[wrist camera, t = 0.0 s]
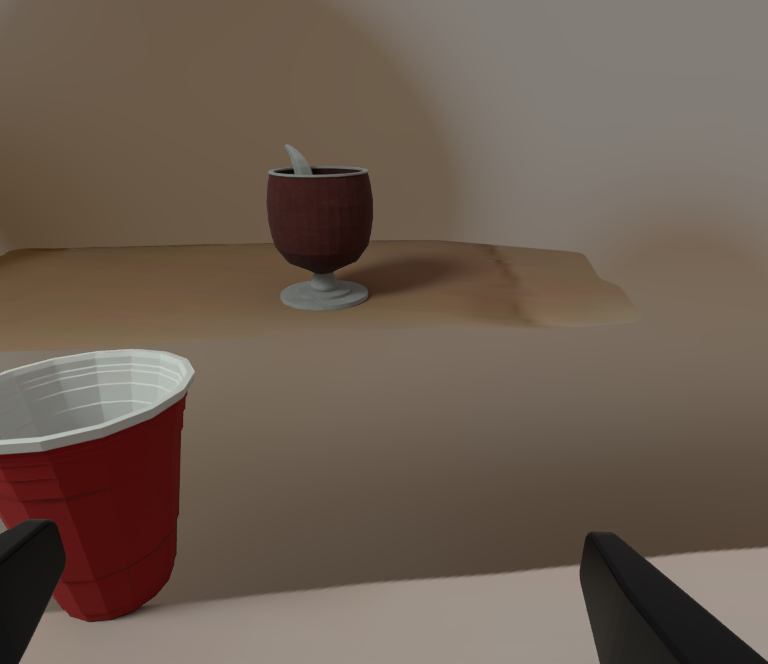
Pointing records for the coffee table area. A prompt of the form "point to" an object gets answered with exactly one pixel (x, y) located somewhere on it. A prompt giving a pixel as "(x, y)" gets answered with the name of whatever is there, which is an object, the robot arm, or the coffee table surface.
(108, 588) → the plastic cup
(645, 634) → the robot arm
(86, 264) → the coffee table surface
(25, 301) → the coffee table surface
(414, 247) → the coffee table surface
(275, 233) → the mate gourd
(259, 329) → the coffee table surface
